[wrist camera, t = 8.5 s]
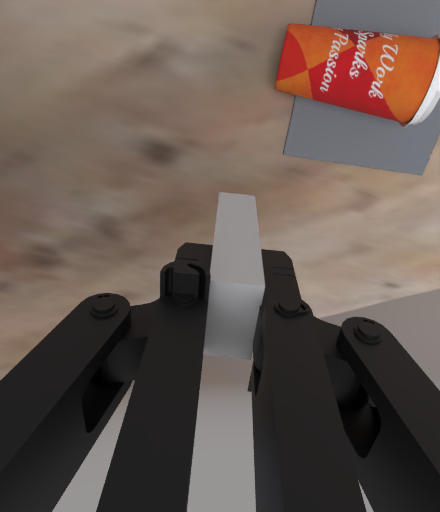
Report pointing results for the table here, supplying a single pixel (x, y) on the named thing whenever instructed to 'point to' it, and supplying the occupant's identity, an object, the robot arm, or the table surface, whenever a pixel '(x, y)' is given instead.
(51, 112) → the table surface
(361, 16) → the rubber mat
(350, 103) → the paper cup
